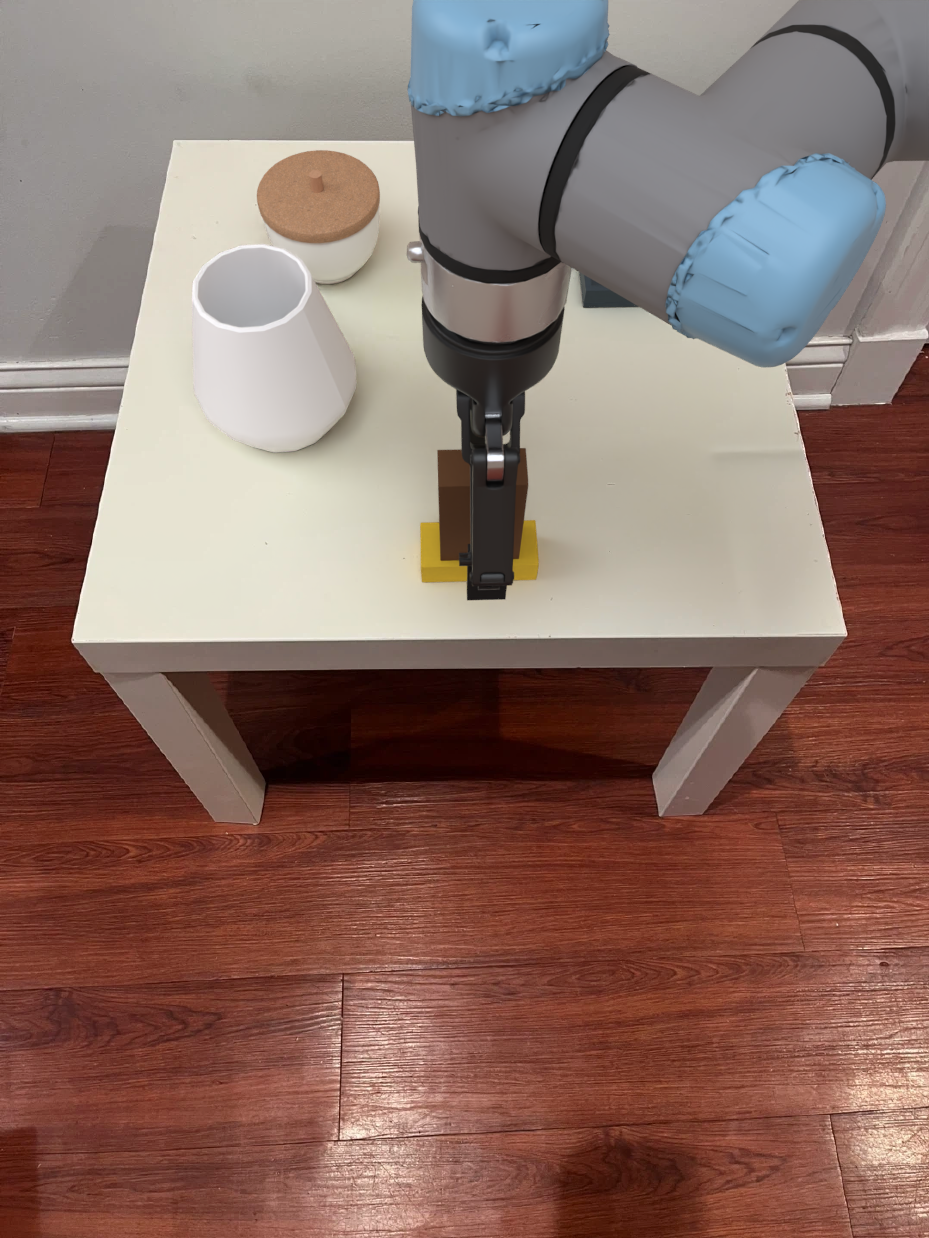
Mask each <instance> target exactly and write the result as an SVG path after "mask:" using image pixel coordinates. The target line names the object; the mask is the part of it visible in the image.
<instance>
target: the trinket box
mask: <svg viewBox="0 0 929 1238" xmlns="http://www.w3.org/2000/svg"><path fill="white" fill-rule="evenodd" d="M380 191H381V189H380V185H379V181H378V179H377V176H376V175H375V173H374V171H373V170H372V169H371V168H370V167H369V166H368V165H367V164H366V163H364V162H363V161H361V160H360V159H359V158H357V157H355V156H352V155H349V154H347V153H345V152H340V151H335V150H327V149H323V150H322V149H320V150H319V149H318V150H317V149H315V150H307V151H303V152H298V153H294V154H292V155H289V156H287V157H286V158H283V159H281V160H279V161H278V162H276V163H274V165H272V166H271V167H270V168H268V169H267V171H266V172H265V173H264V175H263V176H262V178H261V179H260V181H259V183H258V185H257V190H256V203H257V208H258V211H259V214H260V216H261V218H262V223H263V227H264V229H265V232H266V235H267V237H268V240H269V242H270V245H271V246H276V247H280V248H284V249H286V250H288V251H289V252H291V253H293V254H294V255H296V256H297V257H299V258H300V259H302V261H303V262H304V264H305V265H306V267H307V269H308V270H309V272H310V274H311V275H312V277H313V279H314V281H315V283H316V284H320V285H321V284H322V285H335V284H338V283H342V282H345V281H347V280H348V279H350V278H351V277H353V276H354V275H355V274H356V273H357V272H358V271H359V270H360V269H361V268H362V267H364V265H366V263H367V262H368V260H369V259H370V258H371V257H372V255H373V253H374V250H375V248H376V246H377V242H378V238H379V234H380V225H381V224H380V223H381V207H380V201H381V192H380Z"/></svg>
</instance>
